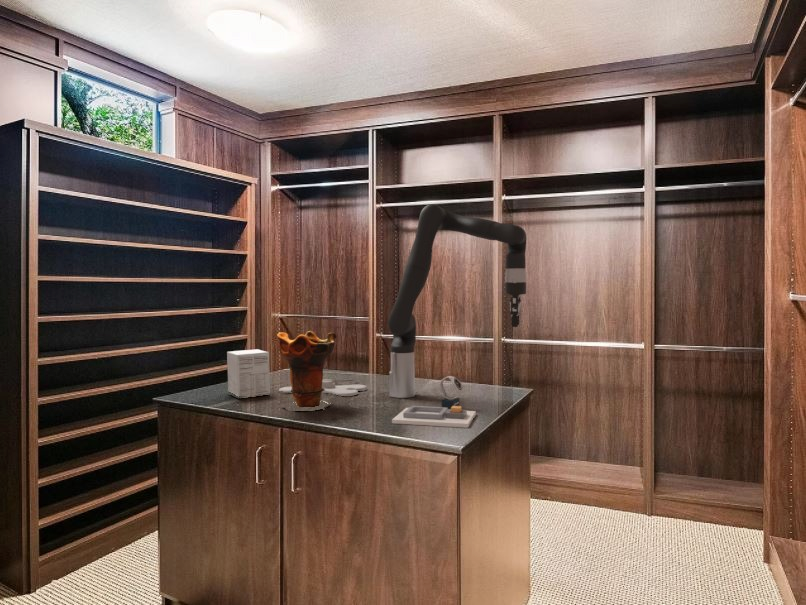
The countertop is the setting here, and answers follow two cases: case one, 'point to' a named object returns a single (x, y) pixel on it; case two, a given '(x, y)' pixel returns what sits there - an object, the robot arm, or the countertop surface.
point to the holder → (335, 388)
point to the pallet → (434, 417)
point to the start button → (456, 409)
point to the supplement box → (248, 372)
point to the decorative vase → (306, 365)
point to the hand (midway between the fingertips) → (515, 325)
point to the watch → (448, 401)
